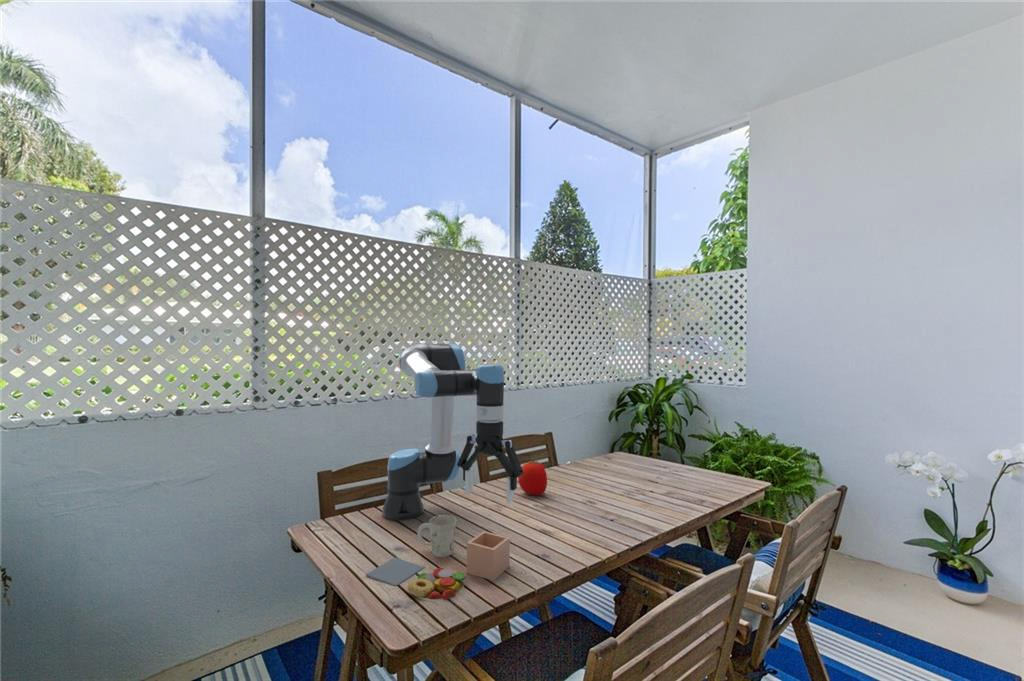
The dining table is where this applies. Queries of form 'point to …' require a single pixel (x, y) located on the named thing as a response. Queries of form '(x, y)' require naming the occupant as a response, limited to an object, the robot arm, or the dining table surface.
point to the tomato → (533, 478)
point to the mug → (440, 534)
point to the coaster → (395, 571)
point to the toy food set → (437, 585)
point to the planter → (488, 555)
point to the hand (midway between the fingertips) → (489, 497)
